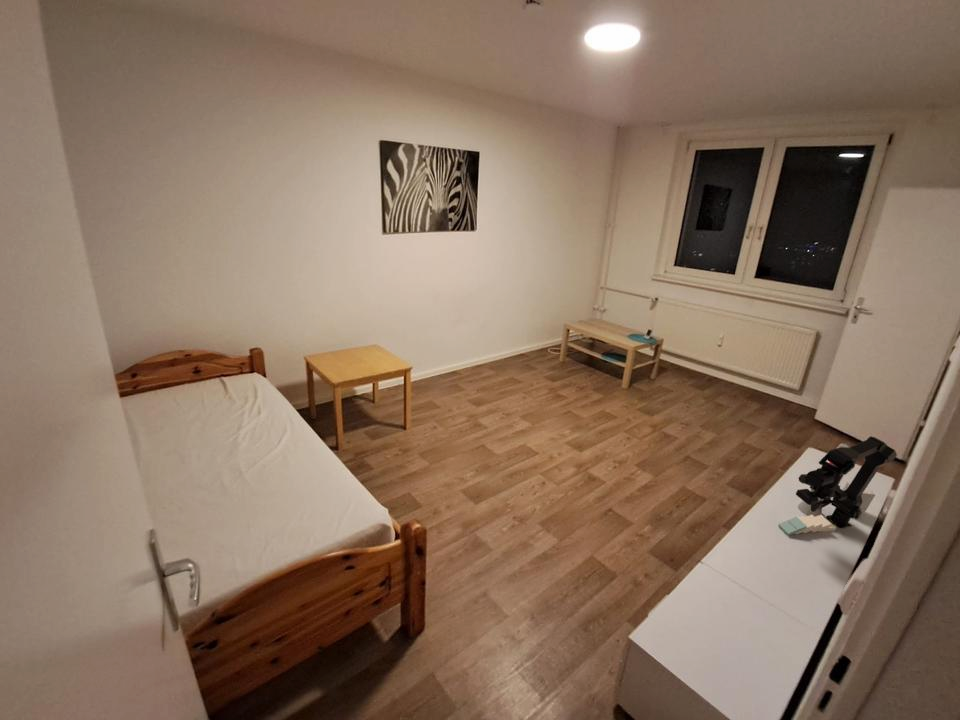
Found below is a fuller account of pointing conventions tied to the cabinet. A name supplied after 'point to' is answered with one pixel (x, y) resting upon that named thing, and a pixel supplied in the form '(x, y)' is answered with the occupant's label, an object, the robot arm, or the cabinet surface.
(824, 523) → the domino
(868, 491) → the supplement box
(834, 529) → the end domino
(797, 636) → the cabinet surface
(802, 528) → the domino
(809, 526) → the domino
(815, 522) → the domino
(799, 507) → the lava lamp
